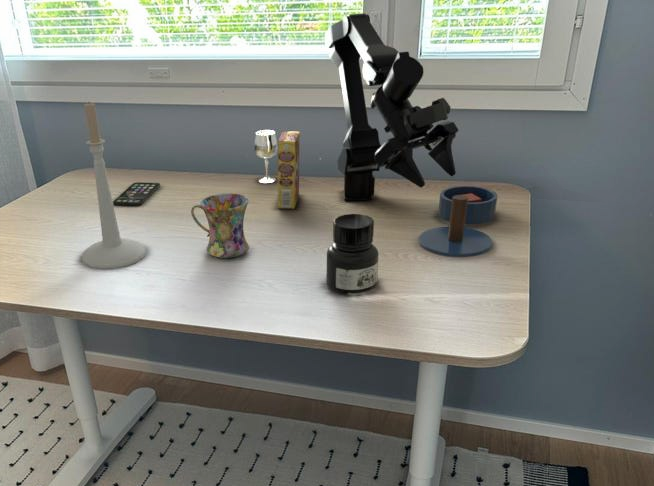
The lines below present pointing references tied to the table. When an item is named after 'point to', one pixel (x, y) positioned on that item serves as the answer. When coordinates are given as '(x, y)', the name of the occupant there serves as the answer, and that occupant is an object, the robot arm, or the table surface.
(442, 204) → the tin
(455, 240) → the tin lid
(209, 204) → the mug
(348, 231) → the ink bottle
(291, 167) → the candy box
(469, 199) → the block
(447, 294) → the table surface
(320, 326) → the table surface
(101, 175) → the candlestick
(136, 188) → the smartphone
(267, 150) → the wineglass
